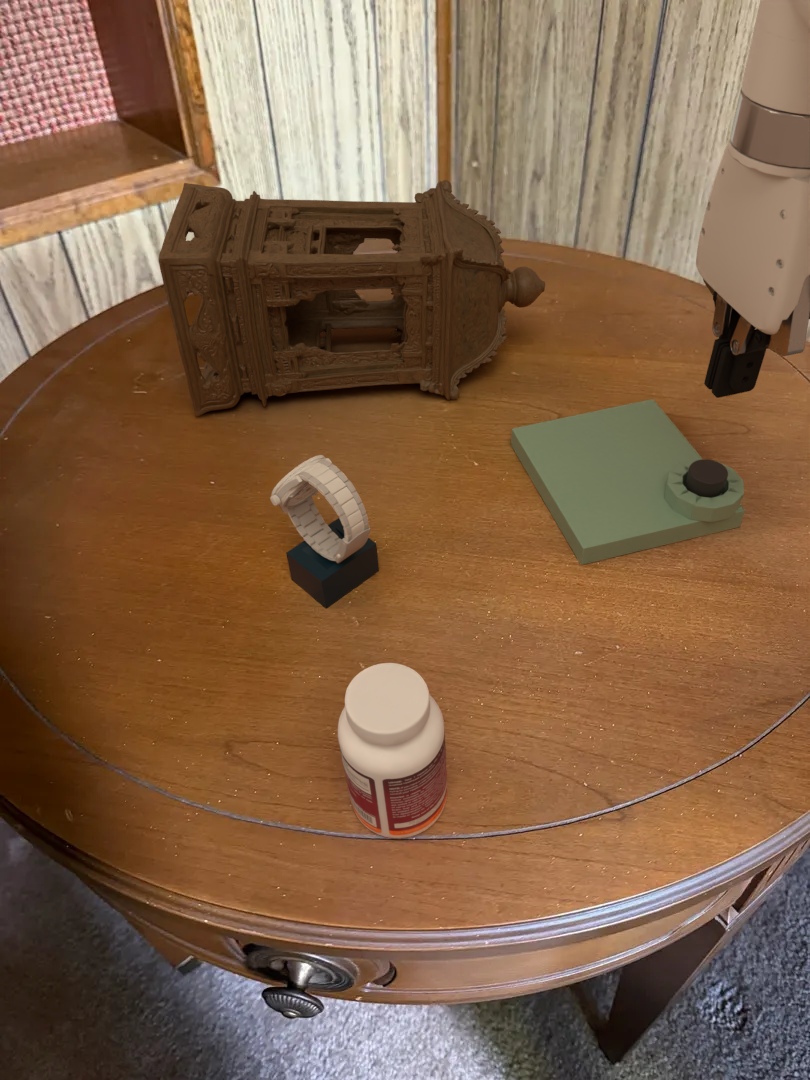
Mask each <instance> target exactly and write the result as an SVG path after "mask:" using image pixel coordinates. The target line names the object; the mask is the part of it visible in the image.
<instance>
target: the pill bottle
mask: <svg viewBox="0 0 810 1080" xmlns="http://www.w3.org/2000/svg"><path fill="white" fill-rule="evenodd" d="M428 687H429V686H428V685H427V682H426V680H425V679H424V678H423V677H422V676H421V674H420V673H419V672H417V671H416V670H415V669H413V668H411V667H409V666H408V665H404V664H401V663H396V662H382V663H377V664H373V665H371V666H368V667H366V668H364V669H362V670H361V671H360V672H359V673H357V674H356V675H355V676H354V677H353V678H352V679H351V680H350V682H349V684H348V686H347V688H346V691H345V695H344V706H343V708H342V711H341V713H340V715H339V718H338V722H337V741H338V746H339V751H340V755H341V761H342V766H343V770H344V774H345V779H346V784H347V789H348V795H349V799H350V804H351V806H352V809H353V812H354V813H355V816H356V817H357V819H358V820H359V821H360V823H361V824H362V825H363V826H364V827H365V828H367V829H368V830H369V831H370V832H372V833H375V834H377V835H378V836H381V837H385V838H390V839H405V838H411V837H415V836H417V835H420V834H421V833H423V832H425V831H427V830H428V829H430V828H431V827H432V826H433V825H434V824H435V823H436V822H437V821H438V819H439V818H440V816H441V815H442V813H443V811H444V809H445V806H446V803H447V798H448V770H447V752H446V750H447V749H446V731H445V721H444V716H443V713H442V710H441V708H440V706H439V704H438V703H437V701H436V700H435V699H434V698H433V696H432V695H431V694H430V691H429V688H428Z"/></svg>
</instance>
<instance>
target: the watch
mask: <svg viewBox="0 0 810 1080" xmlns="http://www.w3.org/2000/svg"><path fill="white" fill-rule="evenodd" d="M318 492H319V493H320V494H321V495H322V496H323V497H324V499H325V500H326V501H327V502H328V504H329V505H330V506H331V507H332V509H333V511H334V512H335V513H336V515H337V517H338V518H336V519H335V520H333V521H332V522H330V523H326V522H325V520H324V518H323V516H322V515H321V513H319V512H320V511H319V509H318V507H317V505H316V504H315V501H314V498H313V497H315V496H316V495H317V494H318ZM269 500H270V502H271V504H272V505H273V506H274V507H277V506H279V508H280V509H281V511H282V512H283V513H284V514H285V515H286V514H287V515H288V517H289V519H290V521H291V523H292V525H293V527H294V528H295V530H296V531H297V532H298V534H299V536H300V537H301V538H302V539H303V541H301V542H300V543H298V544H297V545H295V546H293V547H291V549H289V550H288V551H286V552H285V554H286V560H287V564H288V569H289V574H290V578H291V581H292V582H294V583H295V584H296V585H297V586H299V588H301V589H302V590H303V591H304V592H306V593H307V594H308V595H309V596H310V597H312V598H313V599H314V600H315V601H316V602H317V603H318V604H319V605H321V606H322V607H323V608H325V609H328V608H329V607H331V606H332V605H333V604H335V603H336V602H338V601H339V600H341V599H342V598H344V597H345V596H347V595H348V594H349V593H351V592H352V591H353V590H354V589H356V588H357V587H358V586H360V585H361V584H363V583H364V582H366V581H367V580H368V579H370V578H371V577H372V576H374V575H376V574H377V573H378V572H380V568H379V567H380V566H379V557H378V547H377V546H378V545H377V542H375V541H374V540H372V538H369V537H370V534H371V527H370V524H369V523H370V522H369V516H368V513H367V511H366V508H365V505H364V503H363V501H362V498H361V497H360V494H359V492H358V491H357V489H356V487H355V486H354V484H353V482H352V481H351V480H350V479H349V478H348V477H347V476H346V474H345V473H344V472H343V471H342V470H340V468H339V467H338V466H337V465H335V464H334V463H333V462H332V460H331V459H330V458H328V457H325V456H324V455H323V454H319V455H315V456H312V457H310V458H308V459H306V460H304V461H302V462H300V463H299V464H298V465H297V466H296V467H294V468H293V469H292V470H290V471H289V472H287V474H286V475H284V476H283V477H282V478H281V479H280V480H279V481H278V482H277V483H276V485H275V486H274V487H273V489H272V491H271V495H270V498H269Z"/></svg>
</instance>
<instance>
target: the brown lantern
mask: <svg viewBox="0 0 810 1080" xmlns="http://www.w3.org/2000/svg"><path fill="white" fill-rule="evenodd" d="M452 188H453V187H452V183H451V182H450V181H449V180H448V179H444V180H439V181H438V182H437V183H436V186H435V187H431V188H429V189H428V190H426V191H423V192H416V193H415V194H414V202H412V201H411V202H410V201H409V202H408V201H406V202H405V201H363V200H361V201H358V200H356V201H355V200H327V199H326V200H325V199H324V200H323V199H279V198H278V199H276V198H274V199H273V198H272V199H271V198H270V199H269V198H261V195H260V194H258V193H257V192H256V191H255V190H253V191H252V194H250V195H249V198H245V199H244V200H236V198H233V194H232V192H231V191H229V189H228V188H224V187H220V186H209V185H203V184H197V183H188V182H184V183H183V186H182V190H181V193H180V196H179V199H178V201H177V203H176V206H175V208H174V211H173V213H172V216H171V219H170V222H169V225H168V227H167V231H166V233H165V235H164V239H163V242H162V245H161V249H160V251H159V254H158V265H159V269H160V275H161V278H162V279H161V280H162V282H163V288H164V292H165V295H166V300H167V305H168V309H169V312H170V317H171V321H172V326H173V331H174V333H175V337H176V343H177V347H178V352H179V355H180V358H181V362H182V366H183V370H184V375H185V378H186V383H187V388H188V393H189V396H190V400H191V405H192V409H193V414H194V416H195V417H199V416H201V415H203V414H206V413H208V412H211V411H219V410H226V409H231V408H233V407H235V406H236V405H237V404H238V402H239V401H240V399H241V396H242V395H244V394H245V393H246V394H247V393H251V395H257V397H258V399H259V400H261V403H262V406H263V407H264V408H265V407H266V406H267V400H268V398H269V397H272V396H273V397H274V396H276V397H282V396H285V395H286V394H294V393H295V394H296V393H305V392H315V391H327V390H329V391H330V390H340V389H349V388H359V387H369V386H381V385H383V386H385V385H409V384H411V385H412V384H419V390H420V391H421V392H427V391H428V392H429V393H434V394H436V395H440V396H444V397H445V399H446V400H447V401H450V400H457V399H458V398H459V396H460V389H459V387H458V386H457V385H459V383H460V380H461V379H464V378H466V377H467V376H468V375H467V374H469V373H470V374H472V372H473V370H476V369H479V368H480V366H481V364H488V363H491V362H493V359H492V358H491V357H494V356H497V355H498V352H497V349H498V348H499V347H500V345H502V344H503V343H504V342H506V340H507V338H508V335H506V333H507V329H506V327H505V326H506V322H507V320H508V316H506V315H505V314H506V309H503V308H504V307H505V305H506V303H507V302H509V303H510V304H511V305H514V306H515V307H516V308H526V307H529V306H531V305H533V303H535V301H536V300H537V299H538V298H539V297H540V295H541V294H542V293H544V292H545V289H546V282H545V281H544V280H542V279H541V278H540V276H539V275H538V274H537V273H536V272H535V271H534V270H533V269H532V268H530V267H528V266H517V267H516V268H515V269H513V271H512V270H511V269H509V268H507V267H506V266H505V261H504V260H503V258H502V257H503V256H502V254H503V253H504V252H505V249H503V247H502V245H501V244H502V243H503V239H502V238H501V236H500V234H502V231H501V230H500V229H499V228H497V227H496V226H495V225H496V223H495V222H494V221H493V220H491V219H490V220H488V216H487V215H484V214H479V210H477V209H472V208H469V206H470V204H468V203H461V200H460V199H456V198H457V197H456V196H455V195H454V194H453V190H452ZM189 233H193V237H192V239H191V240H187V237H188V234H189ZM372 239H373V240H374V239H375V240H376V239H380V240H381V239H382V240H383V239H384V240H390V241H391V243H392V244H393V246H392V247H391V249H392V251H395V252H396V253H368V254H366V253H360V254H359V253H357V254H354V252H355V251H356V250H357V249H358V248H359V246H360V245H361V244H364V243H365V240H372ZM358 290H360V291H361V290H362V291H363V290H390V291H391V293H390V295H392V296H393V297H392V298H391V299H387V300H386V299H384V300H366V299H364V298H362V296H360V294H359V293H358V292H357V291H358ZM189 294H192V295H193V296H201V300H200V301H201V302H200V306H199V308H198V310H197V313H196V315H195V317H194V320H193V321H192V324H191V325H190V323H189V320H188V315H187V310H186V306H185V302H186V300H187V297H188V296H189ZM366 329H367V330H371V329H394V330H392V331H391V333H390V334H391V335H392V336H394V337H398V336H399V337H401V343H399V342H393V343H391V344H390V345H391V346H390V348H388V349H372V350H357V351H356V350H355V351H344V352H343V351H341V352H339V351H337V352H333V351H332V331H333V330H366ZM322 333H324V334H325V337H324V336H323V337H321V334H322ZM322 348H324V349H322ZM198 358H200V359H201V360H202V361H203V362H204V366H203V369H202V371H201V366H200V363H199V360H198Z"/></svg>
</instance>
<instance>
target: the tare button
mask: <svg viewBox="0 0 810 1080" xmlns="http://www.w3.org/2000/svg"><path fill="white" fill-rule="evenodd" d="M719 462H720V461H718V462H717V460H715V459H714V460H713V459H707V458H706V459H705V458H702V459H701V460H697V461H695V462H693V463H692V464H691V465H690V467H689V470H688V474H687V478H686V487H687V489H688V490H689V491H690V492H692V493H694V494H696V495H698V496H701V497H708V498H712V497H716V496H719V495H720V494H721V493H722V492H723V491H724V488H725V484H726V481H727V477H728V471H727V469H726V468H725V466H723V465H722V464H723V463H722V462H720V463H719ZM721 463H722V464H721Z"/></svg>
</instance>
